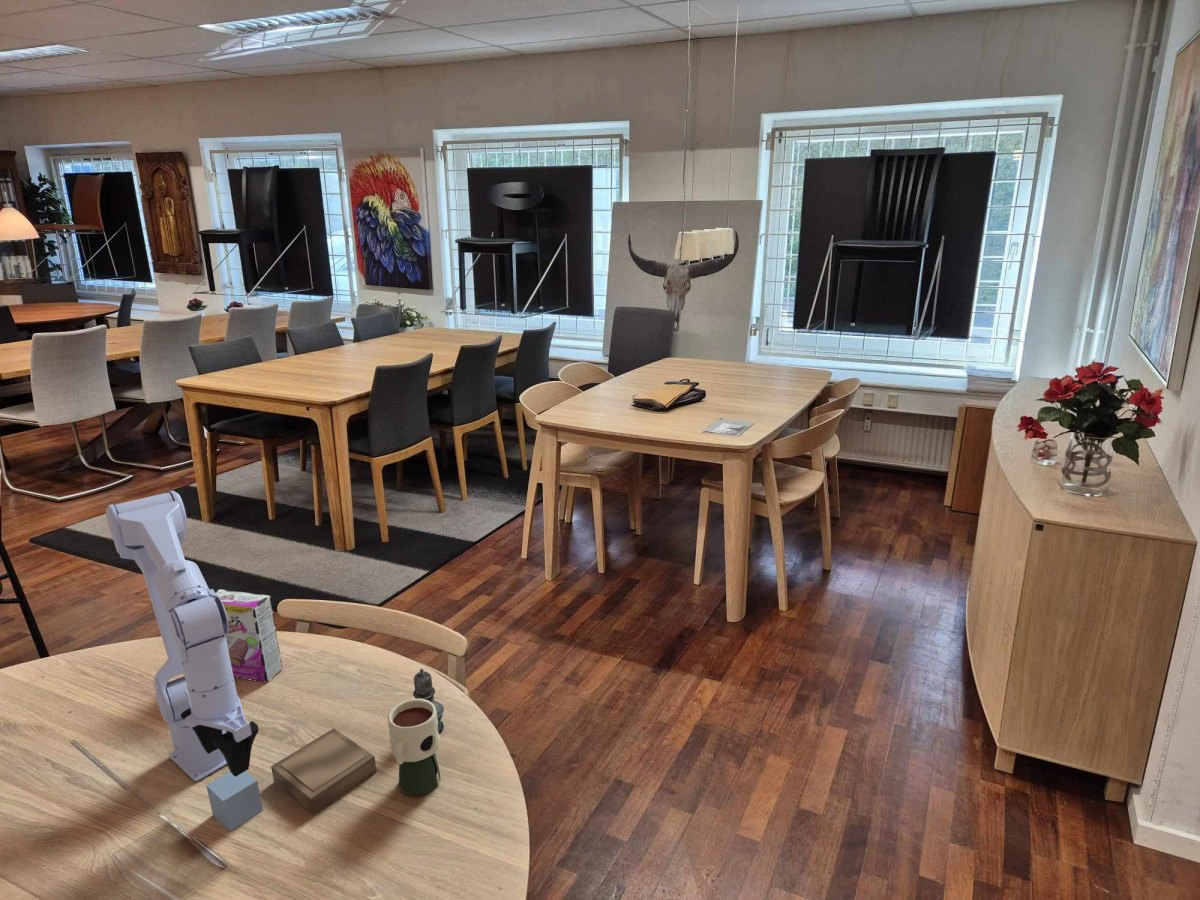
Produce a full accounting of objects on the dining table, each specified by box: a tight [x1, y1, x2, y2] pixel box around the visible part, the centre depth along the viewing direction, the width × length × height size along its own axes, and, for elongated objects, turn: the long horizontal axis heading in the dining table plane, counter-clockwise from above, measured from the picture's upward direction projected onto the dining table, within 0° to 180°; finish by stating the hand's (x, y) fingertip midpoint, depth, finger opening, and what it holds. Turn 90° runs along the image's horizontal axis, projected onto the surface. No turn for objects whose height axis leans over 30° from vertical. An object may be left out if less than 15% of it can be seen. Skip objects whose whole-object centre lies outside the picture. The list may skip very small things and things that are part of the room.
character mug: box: [387, 698, 441, 796], centre depth 114 cm, size 11×7×13 cm, turn 168°
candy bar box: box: [214, 589, 283, 683], centre depth 141 cm, size 11×5×16 cm, turn 77°
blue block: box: [205, 770, 264, 832], centre depth 110 cm, size 5×5×6 cm
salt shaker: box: [412, 668, 445, 735], centre depth 126 cm, size 6×6×12 cm
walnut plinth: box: [270, 727, 378, 816], centre depth 117 cm, size 11×11×3 cm
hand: (227, 760), depth 108 cm, fingers open, 7 cm apart
